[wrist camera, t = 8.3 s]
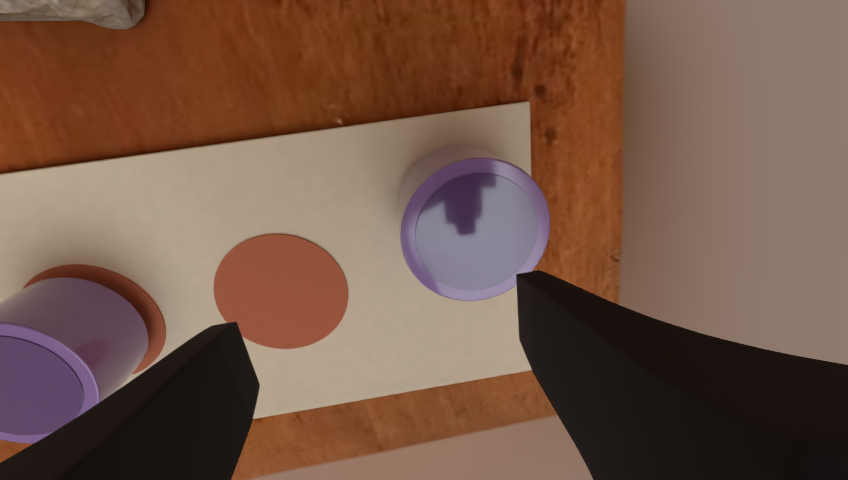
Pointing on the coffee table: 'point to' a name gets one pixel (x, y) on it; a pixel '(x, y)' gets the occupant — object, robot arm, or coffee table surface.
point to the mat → (275, 254)
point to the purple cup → (470, 222)
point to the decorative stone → (75, 11)
